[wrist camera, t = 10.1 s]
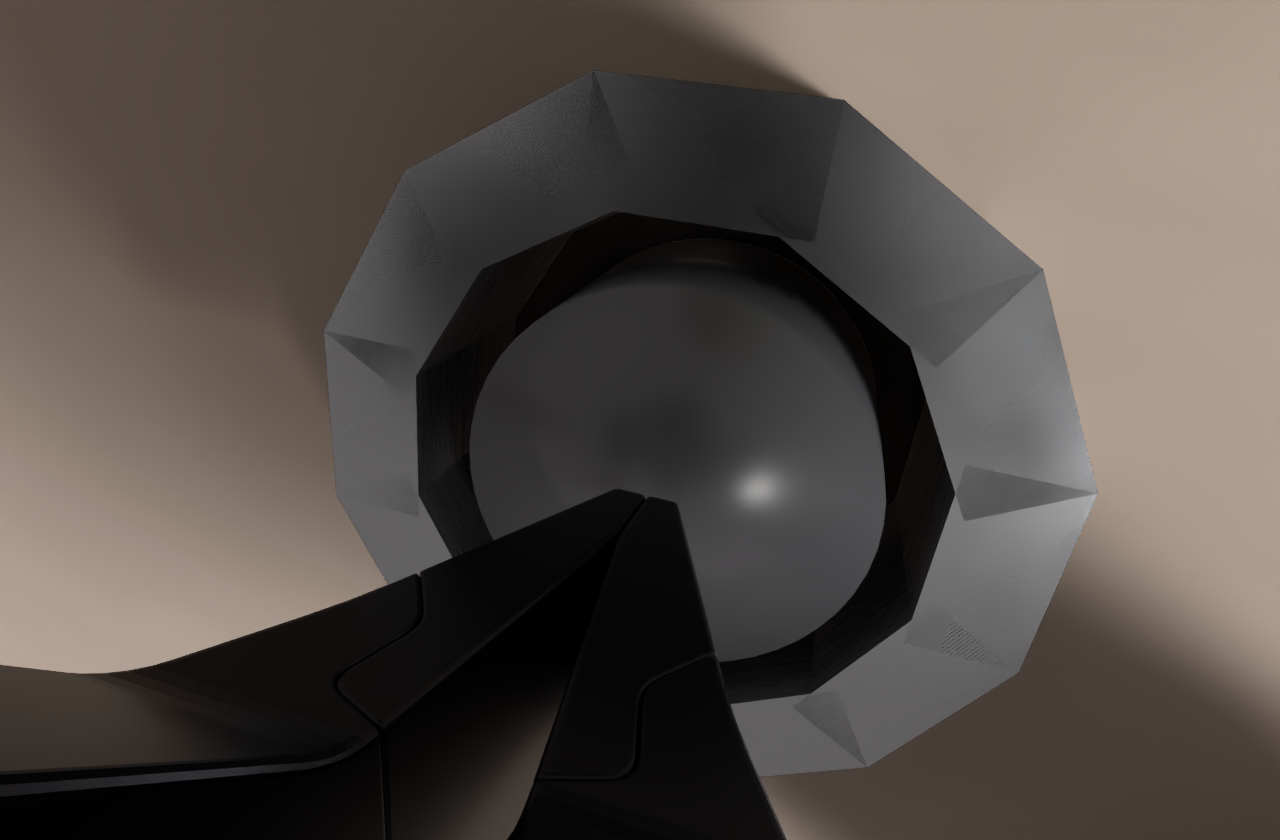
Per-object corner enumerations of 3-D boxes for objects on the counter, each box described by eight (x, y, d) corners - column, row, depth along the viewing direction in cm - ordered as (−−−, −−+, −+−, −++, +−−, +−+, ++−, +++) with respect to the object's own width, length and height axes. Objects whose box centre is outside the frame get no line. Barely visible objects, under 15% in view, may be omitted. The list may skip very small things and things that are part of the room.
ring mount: (916, 695, 14) (937, 856, 11) (445, 567, 16) (350, 672, 13) (1122, 140, 10) (1251, 148, 7) (443, 58, 12) (300, 34, 9)
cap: (827, 574, 14) (822, 709, 11) (543, 497, 15) (464, 601, 12) (920, 276, 11) (949, 341, 8) (568, 209, 12) (475, 244, 9)
